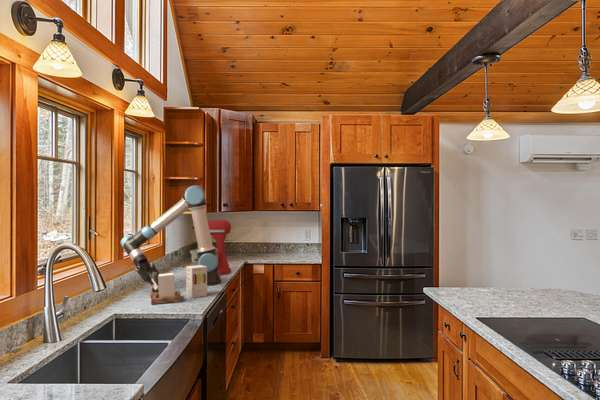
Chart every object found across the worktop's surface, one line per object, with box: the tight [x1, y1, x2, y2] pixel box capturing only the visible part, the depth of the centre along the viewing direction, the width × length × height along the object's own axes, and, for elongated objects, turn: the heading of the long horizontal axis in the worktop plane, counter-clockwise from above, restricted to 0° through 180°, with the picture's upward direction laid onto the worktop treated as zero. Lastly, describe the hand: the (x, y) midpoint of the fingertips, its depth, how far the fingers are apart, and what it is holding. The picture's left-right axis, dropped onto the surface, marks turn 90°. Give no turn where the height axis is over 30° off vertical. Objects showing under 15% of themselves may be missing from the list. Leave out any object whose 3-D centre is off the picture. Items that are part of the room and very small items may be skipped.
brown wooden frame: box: [150, 271, 182, 305], centre depth 224 cm, size 16×25×13 cm, turn 18°
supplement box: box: [185, 265, 208, 299], centre depth 229 cm, size 10×9×17 cm
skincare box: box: [158, 272, 176, 298], centre depth 217 cm, size 8×6×15 cm
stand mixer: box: [189, 219, 232, 276], centre depth 299 cm, size 24×32×40 cm
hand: (159, 287), depth 230 cm, fingers closed on brown wooden frame, 3 cm apart
